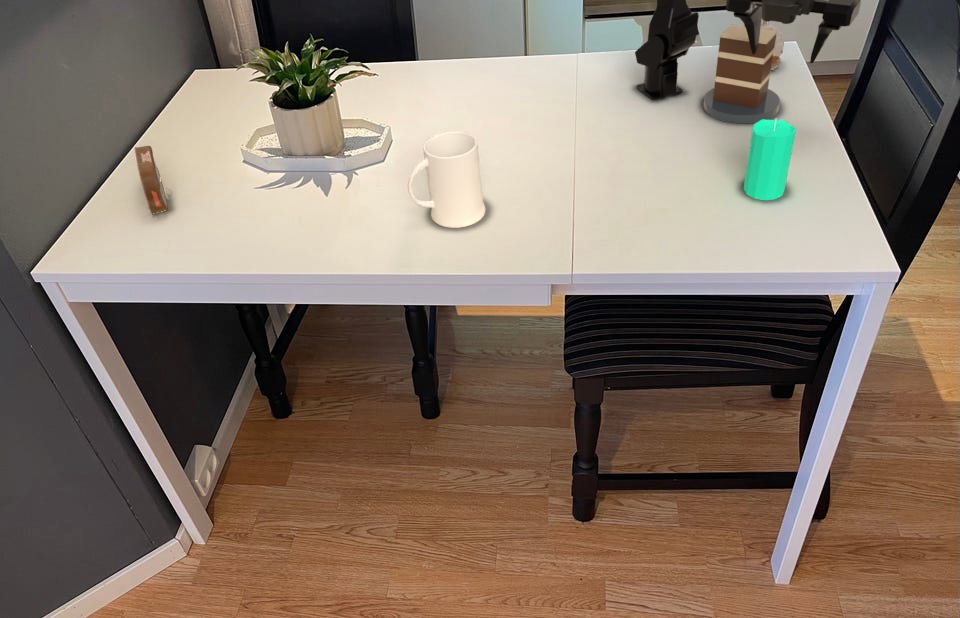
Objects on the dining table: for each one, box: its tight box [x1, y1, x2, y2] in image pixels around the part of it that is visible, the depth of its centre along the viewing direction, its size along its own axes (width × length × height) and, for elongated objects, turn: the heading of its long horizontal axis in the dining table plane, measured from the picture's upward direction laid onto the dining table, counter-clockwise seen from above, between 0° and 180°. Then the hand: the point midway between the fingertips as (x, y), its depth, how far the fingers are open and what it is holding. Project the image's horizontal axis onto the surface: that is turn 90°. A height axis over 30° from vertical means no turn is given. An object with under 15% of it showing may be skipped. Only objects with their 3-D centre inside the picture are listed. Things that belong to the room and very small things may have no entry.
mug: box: [407, 131, 487, 229], centre depth 119 cm, size 12×8×12 cm
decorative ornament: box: [760, 20, 785, 71], centre depth 150 cm, size 8×8×15 cm
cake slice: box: [713, 24, 777, 108], centre depth 138 cm, size 8×5×12 cm, turn 56°
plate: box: [702, 87, 781, 124], centre depth 142 cm, size 13×13×2 cm
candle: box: [743, 117, 797, 201], centre depth 117 cm, size 6×6×12 cm
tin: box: [134, 145, 168, 215], centre depth 131 cm, size 15×3×8 cm, turn 23°
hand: (782, 57), depth 126 cm, fingers open, 9 cm apart
